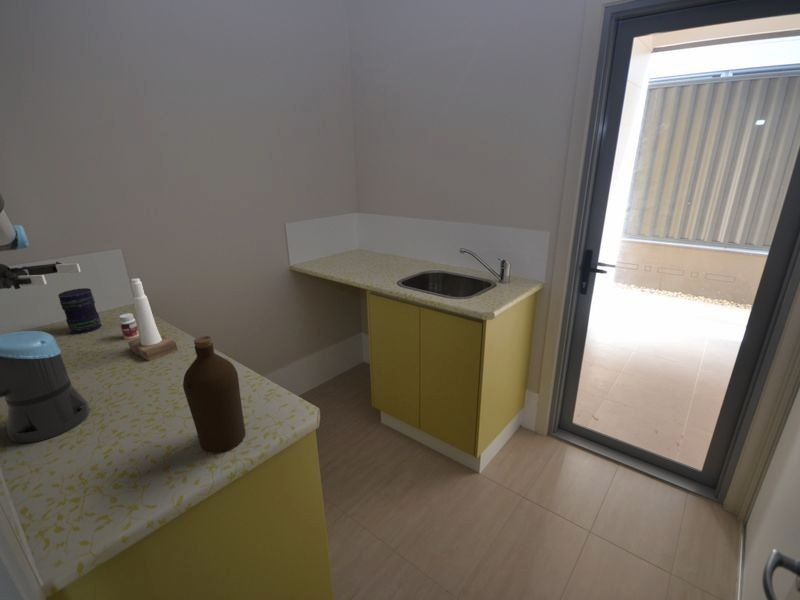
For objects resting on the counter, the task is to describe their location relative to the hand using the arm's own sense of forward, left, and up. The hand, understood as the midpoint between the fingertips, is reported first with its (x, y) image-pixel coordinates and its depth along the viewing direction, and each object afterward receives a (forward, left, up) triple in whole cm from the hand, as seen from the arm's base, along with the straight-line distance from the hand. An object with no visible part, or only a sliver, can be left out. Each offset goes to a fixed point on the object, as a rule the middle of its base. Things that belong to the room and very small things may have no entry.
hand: (62, 273), depth 118 cm
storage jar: (+31, -8, -29) cm, 43 cm away
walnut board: (-11, -15, -29) cm, 34 cm away
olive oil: (-73, -3, -29) cm, 79 cm away
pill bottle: (+8, -15, -29) cm, 34 cm away
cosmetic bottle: (-11, -15, -26) cm, 32 cm away
